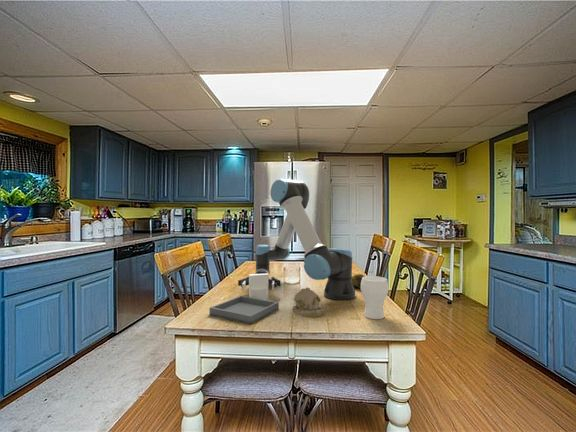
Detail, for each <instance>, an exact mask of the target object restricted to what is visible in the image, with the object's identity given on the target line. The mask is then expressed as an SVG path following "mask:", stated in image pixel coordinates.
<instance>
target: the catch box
mask: <svg viewBox="0 0 576 432" xmlns="http://www.w3.org/2000/svg"><path fill="white" fill-rule="evenodd" d="M279 307H280V302H278V301H274V300H269V299H268V300H262V299H257V298H251V297H249V296H245V295H239V296H236V297H234V298H231V299H229V300H226V301H223V302H221V303H218V304H215V305H213V306H211V307H209V316H211V317H216V318H220V319H226V320H229V321H235V322H238V323H243V324H247V325H252V324H254V323H256V322H258V321H261V319H264V318H265V317H267V316H269V315H271V314H273V313H275V312H277V311H278V310H279Z"/></svg>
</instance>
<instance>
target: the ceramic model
mask: <svg viewBox="0 0 576 432" xmlns="http://www.w3.org/2000/svg"><path fill="white" fill-rule="evenodd" d="M293 301H294V302H295V304H294V305H293V306H292V311H293V313H295V314H297V315H300V316H303V317H308V318H316V317H320V316H322V315H323V314H324V309H323V308H321V307H320V302H321V301H322V300H321V297H320V296H319V294H317V293H316V292H315V291H314V290H312V289H311V288H310V287H306V288H301V289H300V290H299V291H298V292H297V293H296V294H295V295H294V298H293Z"/></svg>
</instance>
